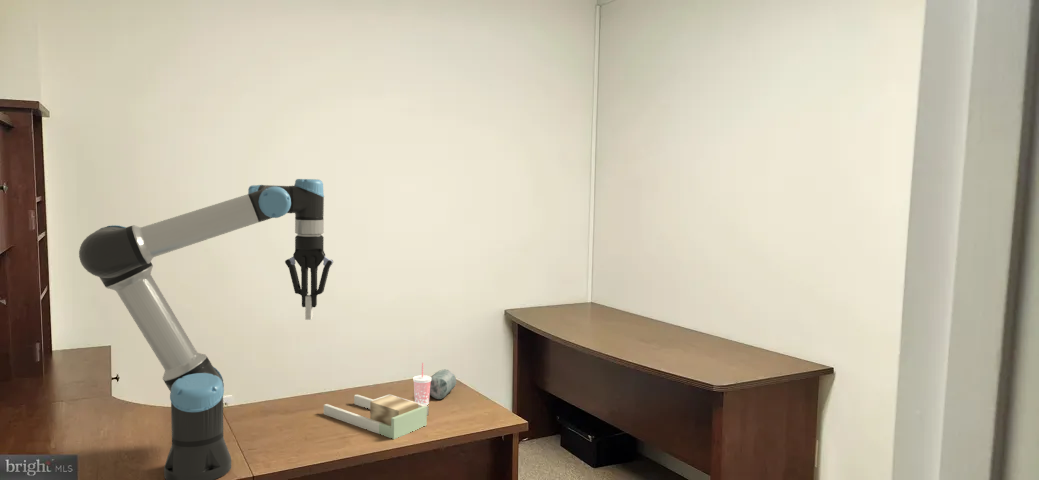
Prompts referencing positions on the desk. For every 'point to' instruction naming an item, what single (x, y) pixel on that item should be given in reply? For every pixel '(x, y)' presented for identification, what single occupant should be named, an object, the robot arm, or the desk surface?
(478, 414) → the desk surface
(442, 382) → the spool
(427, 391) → the beverage cup
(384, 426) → the tray
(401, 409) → the maple block
